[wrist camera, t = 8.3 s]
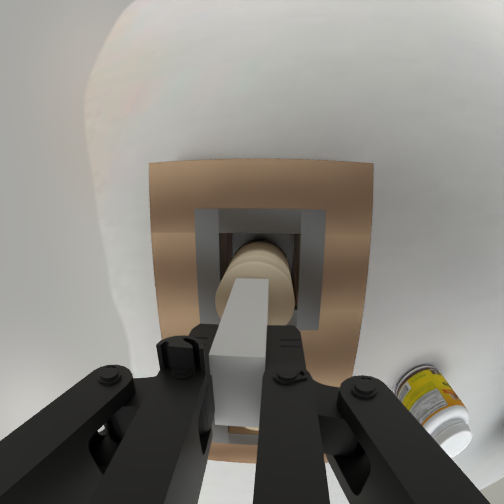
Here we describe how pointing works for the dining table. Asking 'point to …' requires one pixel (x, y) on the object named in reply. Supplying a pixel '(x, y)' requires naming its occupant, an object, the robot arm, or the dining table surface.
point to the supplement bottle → (436, 408)
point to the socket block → (265, 221)
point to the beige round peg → (261, 267)
